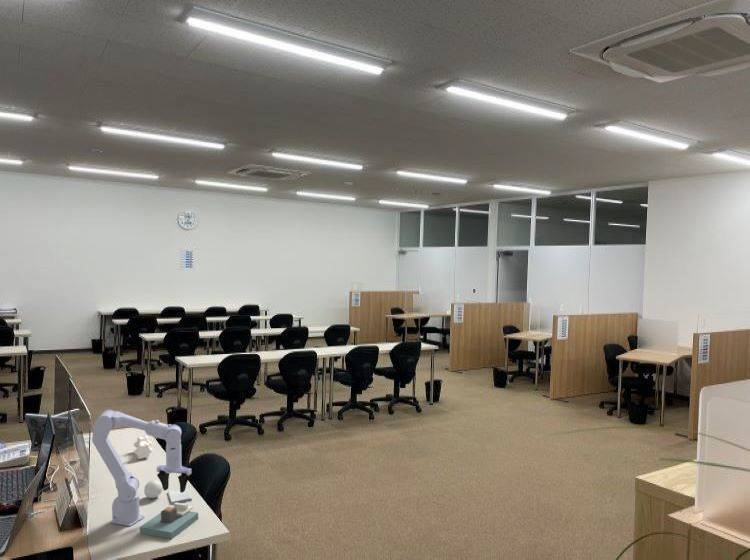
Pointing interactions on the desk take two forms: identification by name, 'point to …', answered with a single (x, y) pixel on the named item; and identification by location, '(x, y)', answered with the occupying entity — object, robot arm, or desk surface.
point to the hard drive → (179, 496)
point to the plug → (169, 515)
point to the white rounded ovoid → (153, 489)
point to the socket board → (168, 525)
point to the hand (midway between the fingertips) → (174, 490)
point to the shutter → (182, 508)
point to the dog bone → (142, 447)
